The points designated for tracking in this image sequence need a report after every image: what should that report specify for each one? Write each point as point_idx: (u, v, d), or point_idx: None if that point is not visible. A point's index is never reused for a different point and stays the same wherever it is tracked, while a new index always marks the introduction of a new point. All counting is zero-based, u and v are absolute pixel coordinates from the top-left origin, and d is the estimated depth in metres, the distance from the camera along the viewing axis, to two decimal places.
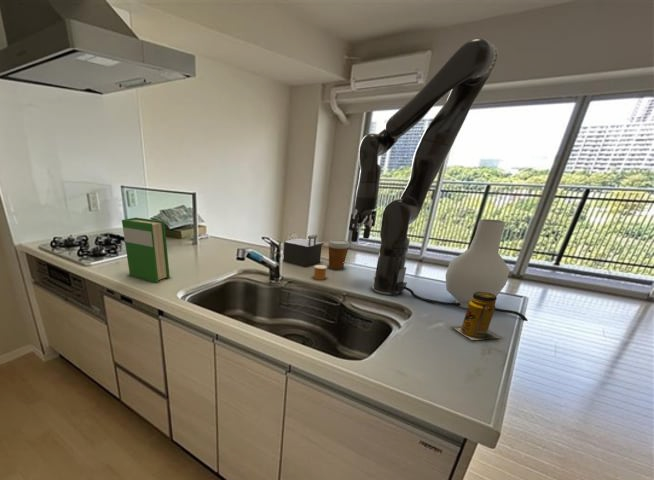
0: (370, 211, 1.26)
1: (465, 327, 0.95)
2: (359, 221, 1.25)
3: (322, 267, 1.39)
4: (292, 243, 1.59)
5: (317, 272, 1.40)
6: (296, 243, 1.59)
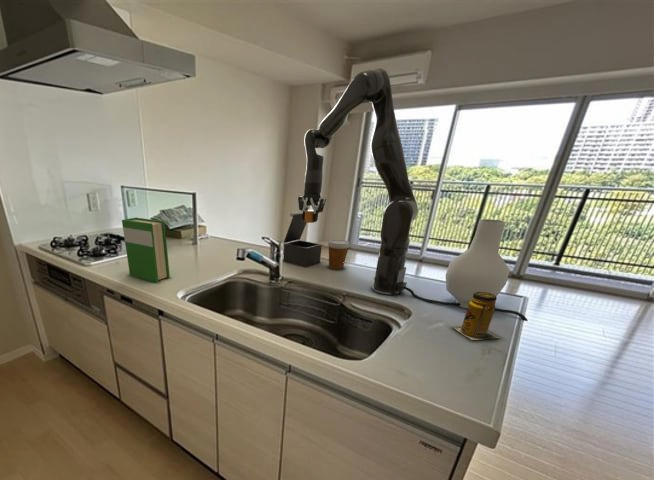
0: (315, 195, 1.47)
1: (465, 327, 0.95)
2: None
3: (312, 210, 1.51)
4: (287, 232, 1.60)
5: (307, 215, 1.51)
6: None
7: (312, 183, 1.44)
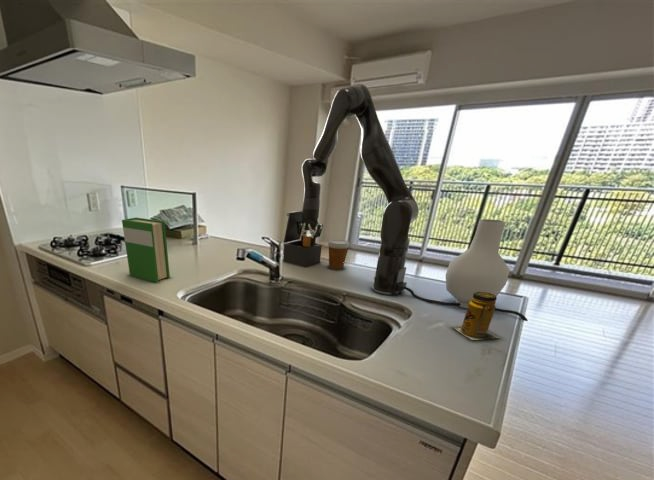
0: (313, 221, 1.52)
1: (465, 327, 0.95)
2: None
3: (310, 235, 1.56)
4: None
5: (305, 240, 1.57)
6: None
7: (310, 210, 1.49)
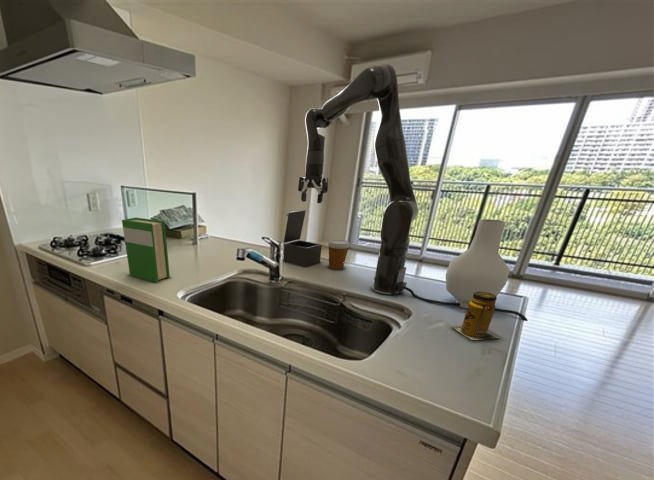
0: (316, 177, 1.44)
1: (465, 327, 0.95)
2: None
3: None
4: (285, 231, 1.60)
5: None
6: None
7: (313, 164, 1.41)
